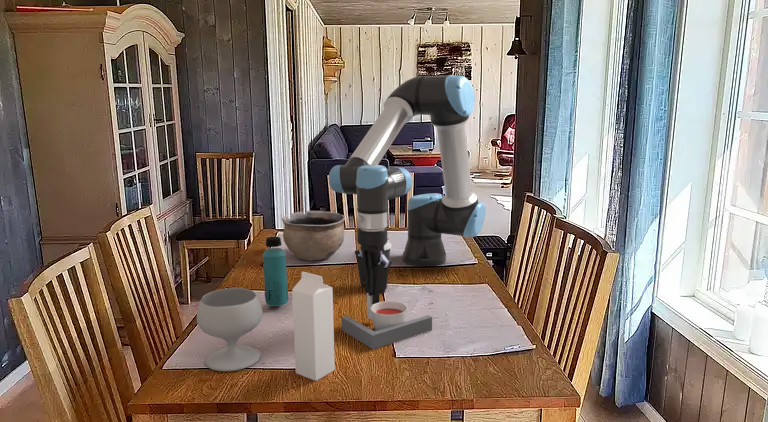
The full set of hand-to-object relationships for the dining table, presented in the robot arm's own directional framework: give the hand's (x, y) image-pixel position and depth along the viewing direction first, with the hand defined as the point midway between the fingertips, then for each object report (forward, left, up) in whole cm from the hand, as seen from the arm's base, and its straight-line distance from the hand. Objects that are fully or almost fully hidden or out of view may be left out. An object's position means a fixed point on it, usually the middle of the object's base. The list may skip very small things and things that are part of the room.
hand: (373, 316), depth 149 cm
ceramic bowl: (-17, -60, -2) cm, 63 cm away
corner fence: (0, +6, -2) cm, 6 cm away
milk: (+25, +14, -2) cm, 28 cm away
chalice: (+37, -2, -2) cm, 37 cm away
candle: (0, +7, -2) cm, 7 cm away
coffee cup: (-16, -21, -2) cm, 27 cm away
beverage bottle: (+15, -25, -2) cm, 29 cm away
